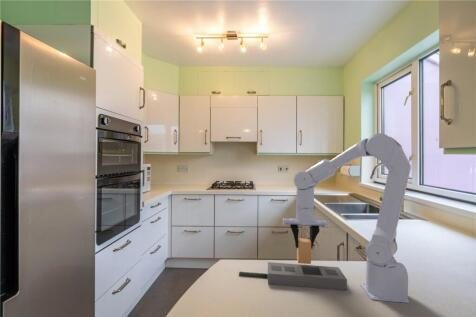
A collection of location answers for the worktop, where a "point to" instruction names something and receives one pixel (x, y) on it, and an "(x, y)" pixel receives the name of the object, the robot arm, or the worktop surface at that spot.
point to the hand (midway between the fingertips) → (303, 247)
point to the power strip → (303, 276)
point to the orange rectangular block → (304, 251)
